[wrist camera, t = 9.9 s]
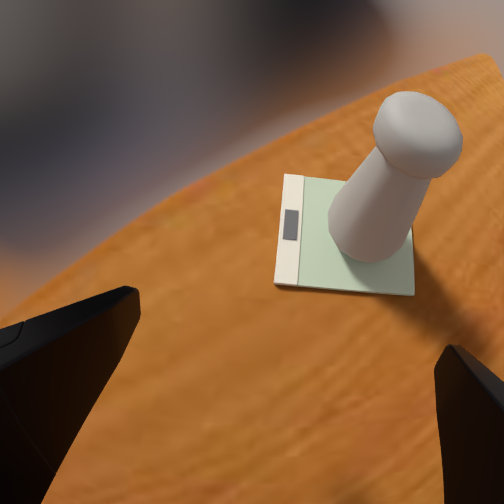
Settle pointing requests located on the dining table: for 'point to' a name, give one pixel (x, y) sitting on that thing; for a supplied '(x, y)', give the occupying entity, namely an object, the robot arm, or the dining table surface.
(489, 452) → the robot arm
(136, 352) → the dining table surface
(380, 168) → the salt shaker
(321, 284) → the pad
